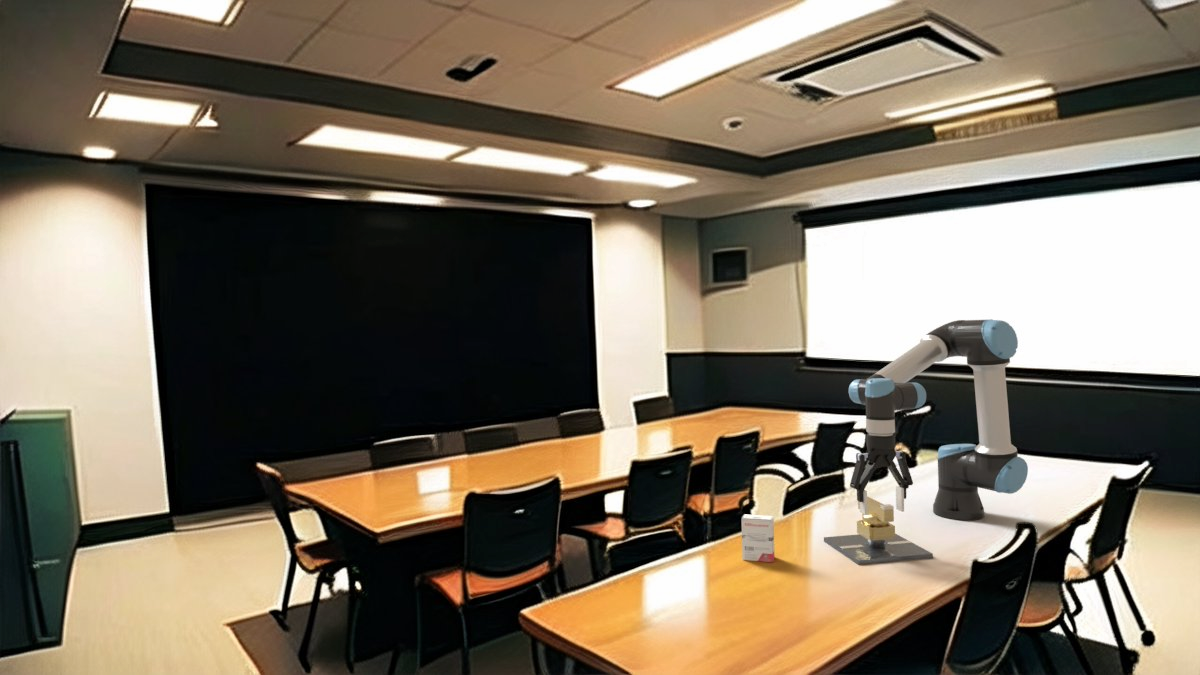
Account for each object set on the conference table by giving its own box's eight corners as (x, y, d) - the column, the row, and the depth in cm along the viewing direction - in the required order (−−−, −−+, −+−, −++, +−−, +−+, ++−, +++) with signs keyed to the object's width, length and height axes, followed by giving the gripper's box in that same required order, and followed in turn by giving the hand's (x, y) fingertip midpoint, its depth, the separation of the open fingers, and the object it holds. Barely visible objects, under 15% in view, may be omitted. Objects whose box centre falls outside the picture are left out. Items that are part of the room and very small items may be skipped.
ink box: (775, 556, 196) (774, 514, 196) (773, 562, 192) (772, 520, 191) (744, 554, 199) (743, 513, 199) (741, 560, 194) (740, 518, 194)
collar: (875, 527, 207) (874, 492, 207) (902, 542, 193) (901, 505, 193) (850, 529, 206) (850, 494, 205) (876, 544, 192) (875, 507, 192)
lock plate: (891, 535, 211) (891, 512, 211) (932, 557, 191) (932, 532, 191) (823, 541, 208) (823, 517, 208) (858, 564, 188) (857, 538, 188)
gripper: (910, 429, 200) (911, 505, 201) (835, 433, 197) (837, 511, 198) (926, 433, 193) (927, 512, 194) (849, 438, 190) (850, 518, 190)
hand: (882, 511), depth 196 cm, fingers open, 10 cm apart
